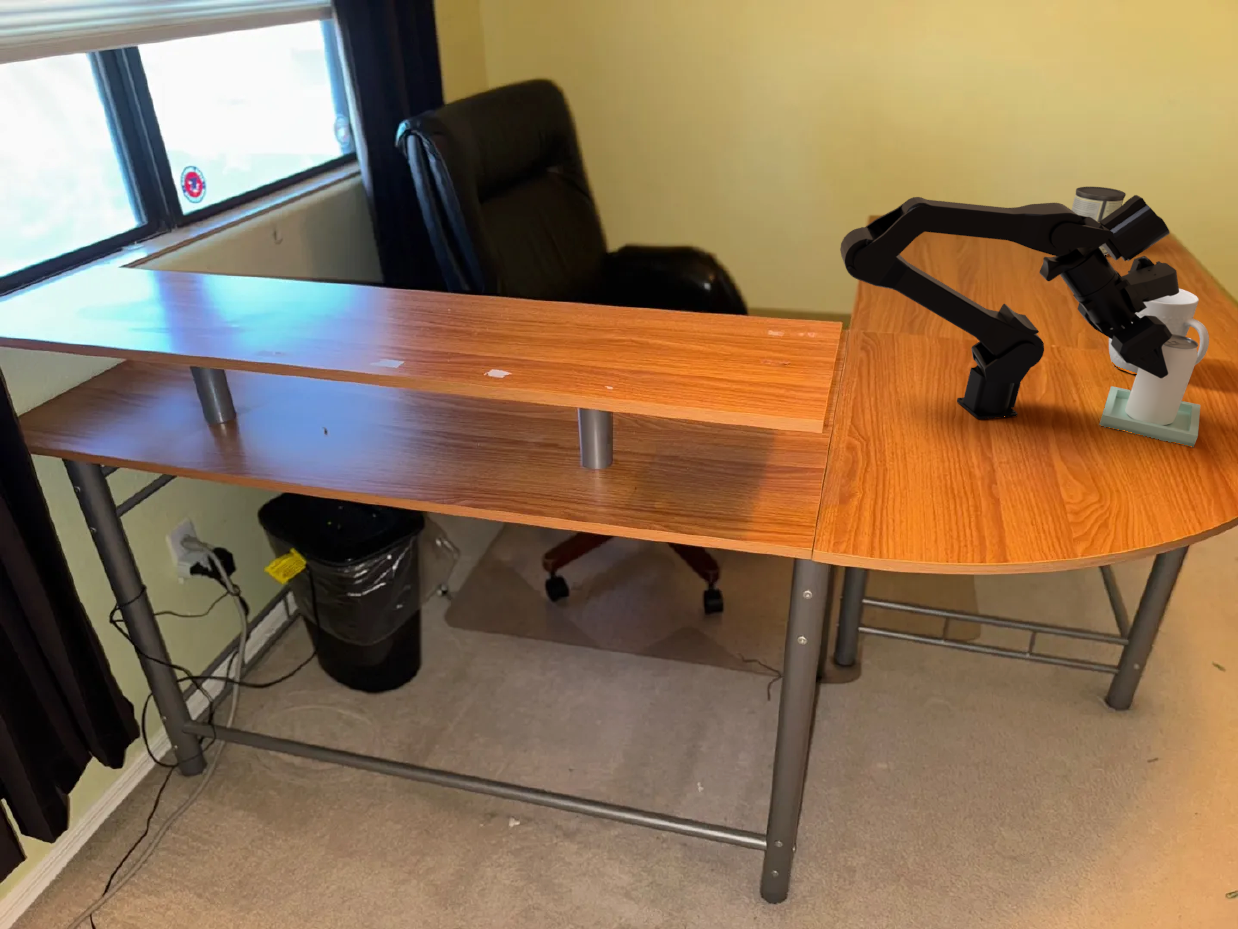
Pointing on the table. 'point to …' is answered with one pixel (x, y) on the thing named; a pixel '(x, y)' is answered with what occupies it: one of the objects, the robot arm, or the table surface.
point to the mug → (1171, 322)
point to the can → (1163, 384)
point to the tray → (1177, 431)
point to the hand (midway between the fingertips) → (1151, 363)
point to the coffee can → (1097, 203)
